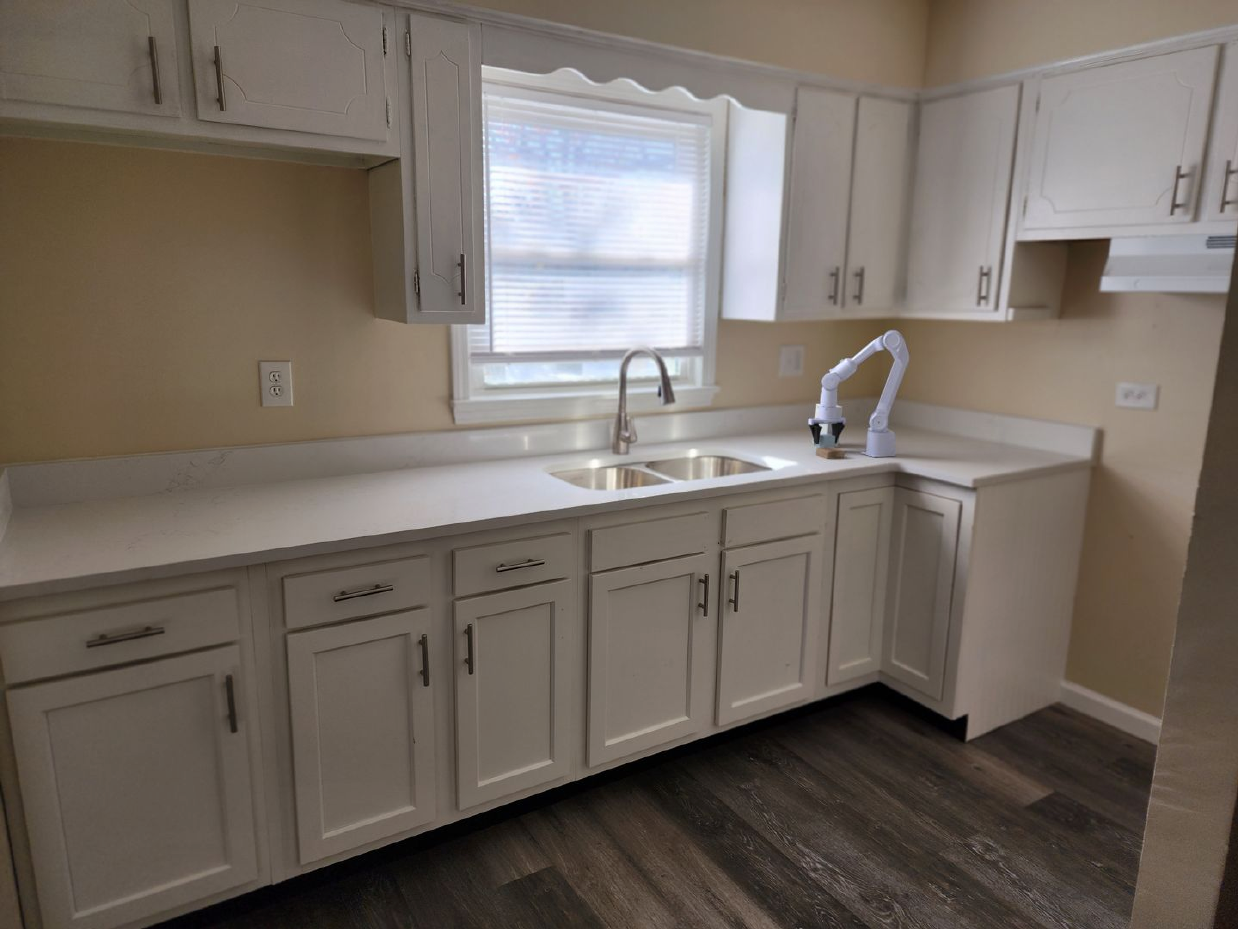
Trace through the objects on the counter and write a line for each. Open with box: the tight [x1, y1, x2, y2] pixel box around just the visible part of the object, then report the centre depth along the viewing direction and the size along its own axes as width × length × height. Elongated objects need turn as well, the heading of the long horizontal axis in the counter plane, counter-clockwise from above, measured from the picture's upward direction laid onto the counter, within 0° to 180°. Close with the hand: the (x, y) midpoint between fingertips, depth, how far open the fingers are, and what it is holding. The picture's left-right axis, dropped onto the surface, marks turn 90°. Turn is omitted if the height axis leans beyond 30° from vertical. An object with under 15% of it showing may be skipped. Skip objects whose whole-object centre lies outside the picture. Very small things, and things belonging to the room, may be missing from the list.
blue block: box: [816, 434, 835, 448], centre depth 296 cm, size 4×4×6 cm
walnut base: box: [815, 447, 846, 460], centre depth 287 cm, size 7×7×3 cm
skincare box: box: [812, 403, 844, 448], centre depth 306 cm, size 8×7×16 cm
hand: (825, 443), depth 296 cm, fingers open, 7 cm apart
